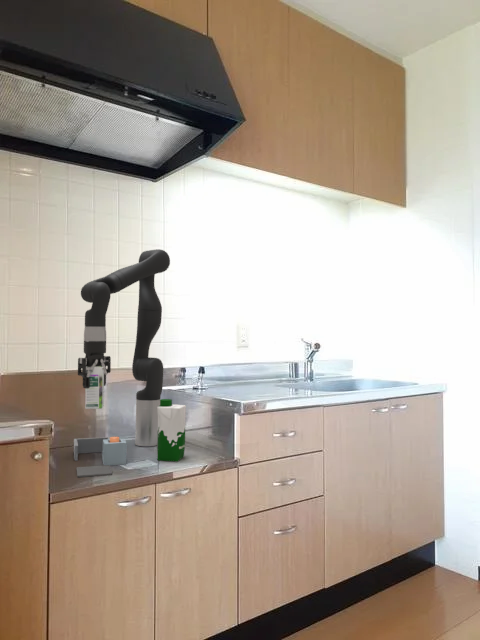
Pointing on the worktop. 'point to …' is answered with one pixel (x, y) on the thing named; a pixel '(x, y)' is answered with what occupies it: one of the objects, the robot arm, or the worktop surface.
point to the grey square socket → (114, 452)
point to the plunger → (114, 439)
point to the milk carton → (171, 431)
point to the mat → (93, 471)
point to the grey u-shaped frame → (88, 445)
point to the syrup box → (95, 389)
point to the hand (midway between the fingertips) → (94, 386)
